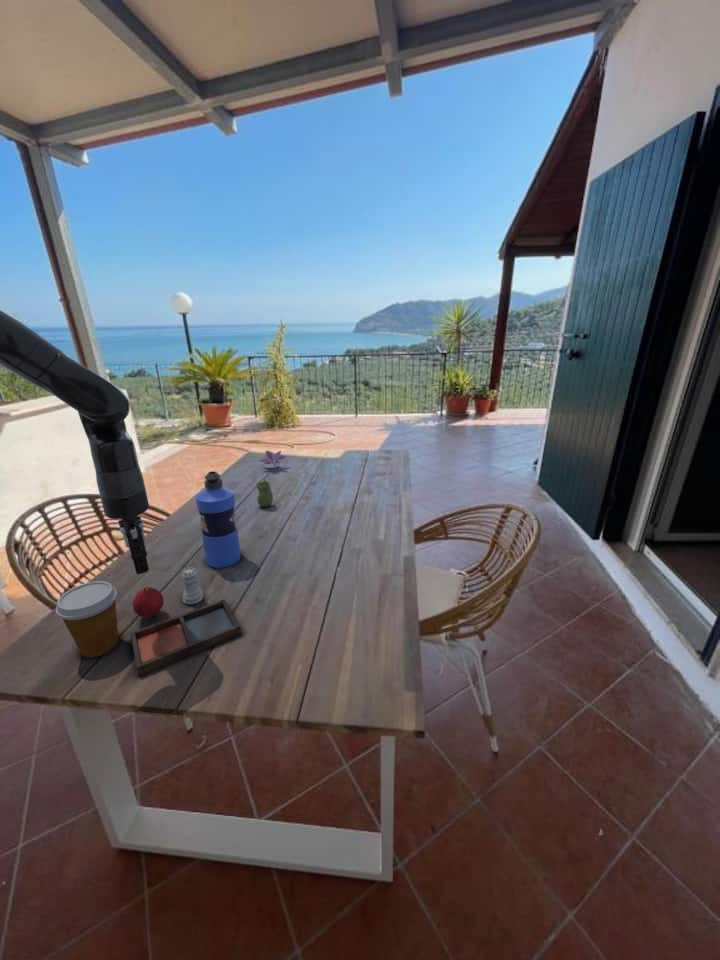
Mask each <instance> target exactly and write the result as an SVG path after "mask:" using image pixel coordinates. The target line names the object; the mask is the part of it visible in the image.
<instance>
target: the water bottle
mask: <svg viewBox="0 0 720 960" xmlns="http://www.w3.org/2000/svg"><path fill="white" fill-rule="evenodd" d="M221 477H222V475H221V474H219V473H218V472H217V471H209V472H208V473H207V474H205V476H204V479H205V480H204V488H205V489H204V490H202V491H200V492H199V493H197V494H196V495H195V504H196V509H197V511H198V514H199V517H200V521H201V538H202V544H203V550H204V557H205V564H206V565H207V566H209V567H211V568H214V569H215V568H216V569H217V568H220V569H221V568H227V567H230V566H232V565H235V564H237V563H238V562H239V561H240V559H241V557H242V556H241V555H242V554H241V548H240V539H239V531H238V526H237V522H236V518H235V511H236V510H235V506H236V499H235V492H234V490H233V489H230V488H226V487H223V480H222V478H221Z"/></svg>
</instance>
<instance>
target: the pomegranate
mask: <svg viewBox="0 0 720 960" xmlns="http://www.w3.org/2000/svg"><path fill="white" fill-rule="evenodd" d="M164 601H165V600H164V597H163V594H162V593H161V592H160V590H158V589H156V588H155V587H149V586H148V585H144V586H143V587H142V588H141V589H140V590H138V592H137V593H136V594H135V596H134V597H133V601H132V609H133V612H134V613H135V614H136V615H137V616H139V617H141V618H148V619H153V618H154V617H155V616H156V615H157V614H158V613H159V612H160V611H161V610H162V608H163V606H164V603H165V602H164Z"/></svg>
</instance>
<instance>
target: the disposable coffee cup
mask: <svg viewBox="0 0 720 960" xmlns="http://www.w3.org/2000/svg"><path fill="white" fill-rule="evenodd" d="M117 595H118V592H117V589H116V587H114V586H113V585H112V583H110V582H108V581H104V580H103V581H102V580H97V581H89V582H85V583H82V584H79V585H76V586H75V587H72V588H70V589H68V590H66V591H65V592H64V593H63V594H62V595H60V596H59V598H58V599H57V602H56V606H55V612H56V615H57V616H58V617H59V618H61V619H62V621H63V623H64V624H65V626H66V628H67V630H68V631H69V634H70V636H71V638H72V639H73V641H74V643H75V645H76V647H77V649H78V650H79V653H80V654H81V655H82V656H83V657H84V658H97V657H100V656H102V655H105V654H106V653H109V652H110V651H112V650H113V649H115V647H116V646H117V645H118V643H119V629H118V617H117V604H116V598H117Z"/></svg>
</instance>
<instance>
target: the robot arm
mask: <svg viewBox="0 0 720 960" xmlns="http://www.w3.org/2000/svg"><path fill="white" fill-rule="evenodd" d="M0 366H1V367H2V368H4V369H6V370H8V371H9V372H11V373H13V374H14V375H16V376H17V377H19V378H21V379H22V380H23V381H26V382H28V383H30V384H31V385H33V386H35V387H36V388H39V389H40V390H43V391H44V392H46V393H49V394H51V395H53V396H54V397H56V398H57V399H58V400H60V401H62V402H63V403H65V404H66V405H68V406H69V407H71V408H72V409H74V410H75V411H77V414H78V417H79V419H80V422H81V425H82V427H83V430H84V433H85V435H86V438H87V441H88V444H89V449H90V450H89V451H90V455H91V459H92V463H93V467H94V470H95V479H96V485H97V489H98V494H99V497H100V501H101V505H102V508H103V513H104V516H105V517H107V518H108V519H112V520H117V523H118V526H119V530H120V534H121V535H123V540H124V544H125V547H126V548H128V549H129V552H130V559H132V561H133V565H134V570H135V573H136V574H137V575H142V574H145V573H147V572H149V571H150V570H149V563H148V559H147V557H148V551H147V549H146V546H145V544H146V542H147V541H146V536H145V532H144V527H145V526H144V522H143V520H142V517H141V514H144V513H145V512H147V511H148V509H149V507H150V504H149V498H148V494H147V489H146V485H145V480H144V475H143V473H142V470H141V467H140V464H139V459H138V454H137V451H136V450H137V449H136V446H135V442H134V441H133V438H132V437H131V435H130V434H129V432H128V430H127V426H126V421H125V419H126V418H127V417H128V416H129V414H130V408H131V406H130V405H131V404H130V401H129V398H128V397H127V395H126V394H125V392H124V391H123V390H122V389H121V388H119V387H118V386H117V385H115V384H113V383H112V382H110V381H109V380H107V379H106V378H104V377H102V376H100V375H99V374H97V373H96V372H94V371H92V370H91V369H90V368H88V367H85V366H84V365H82V364H81V363H80V362H78V361H76V360H75V359H74V358H72V357H71V356H70V355H69V354H68V353H66V352H65V351H63V350H62V349H60V348H59V347H58V346H56V345H55V344H53V343H52V342H51V341H49V340H48V339H46V338H45V337H44V336H42V335H40V334H39V333H38V332H36V331H35V330H33V329H32V328H30V327H28V326H27V325H25V323H22V322H21V321H19V320H18V319H16V318H14V317H13V316H11V315H9V314H8V313H5V311H2V310H1V309H0Z"/></svg>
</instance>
